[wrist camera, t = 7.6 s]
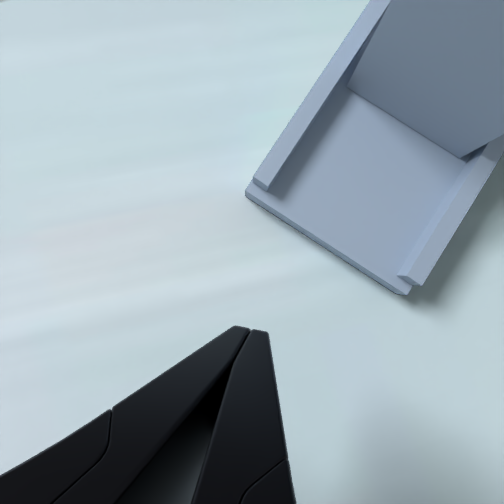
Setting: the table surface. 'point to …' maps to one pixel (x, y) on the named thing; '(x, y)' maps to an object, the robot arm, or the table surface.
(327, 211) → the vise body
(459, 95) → the free jaw
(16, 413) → the table surface
